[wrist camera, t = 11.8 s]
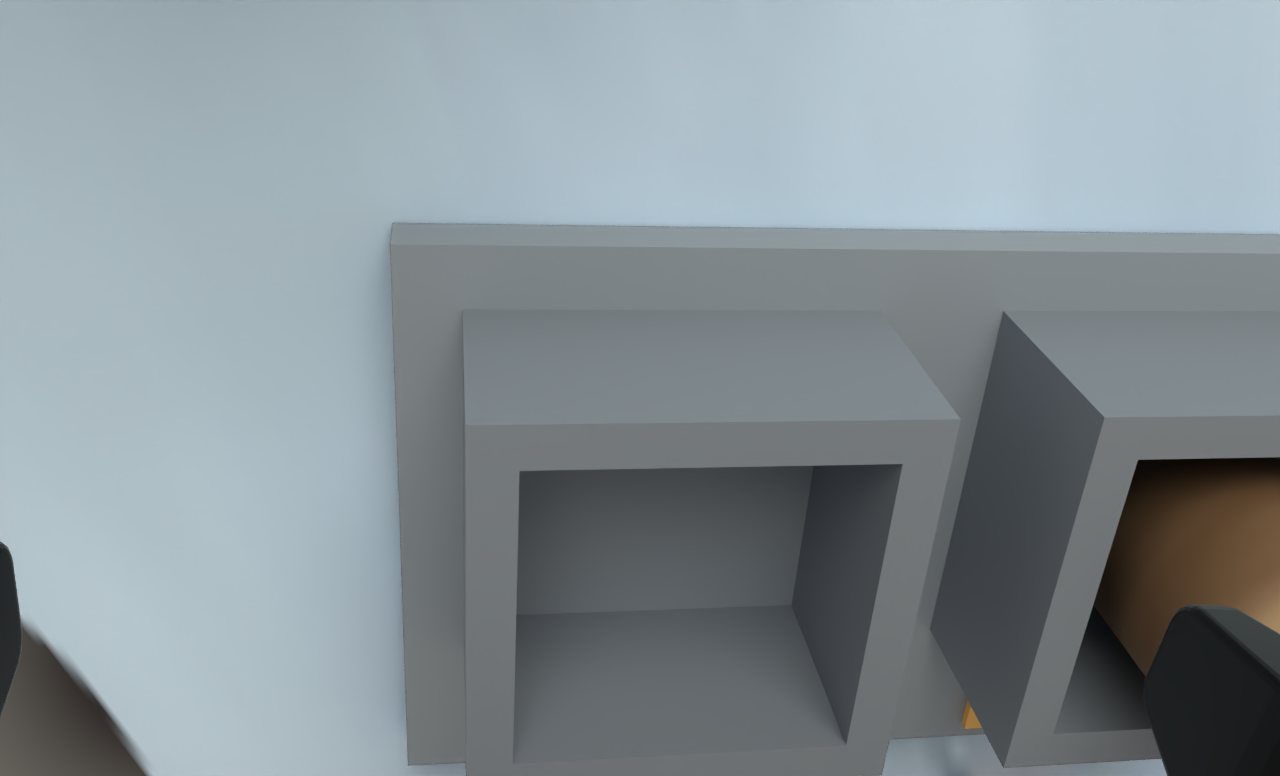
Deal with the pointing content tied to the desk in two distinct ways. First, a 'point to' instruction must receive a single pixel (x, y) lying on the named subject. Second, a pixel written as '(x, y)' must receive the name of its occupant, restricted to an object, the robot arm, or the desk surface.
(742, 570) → the socket block
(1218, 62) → the desk surface
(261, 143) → the desk surface
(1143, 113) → the desk surface
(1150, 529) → the walnut peg
